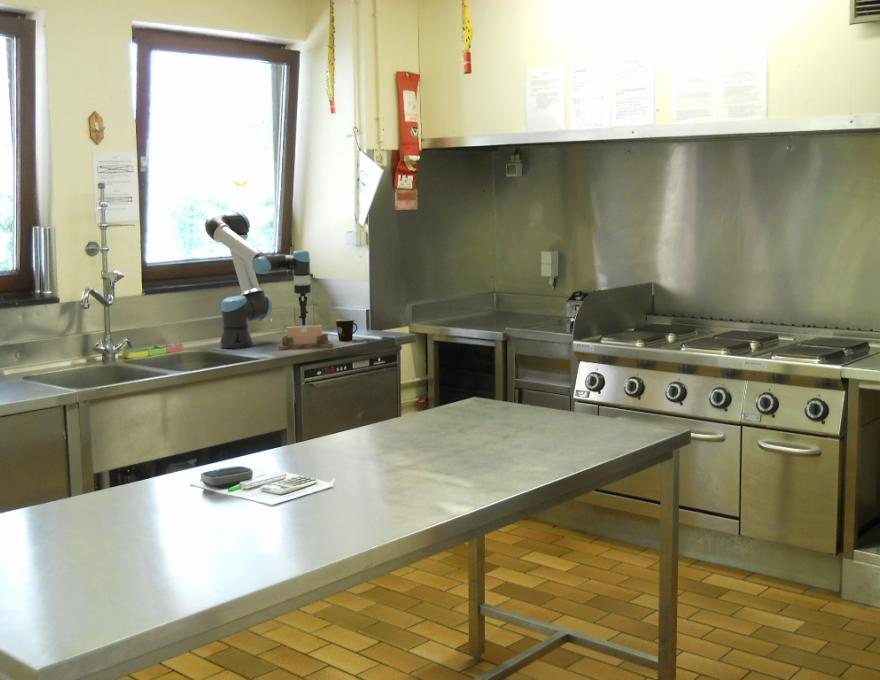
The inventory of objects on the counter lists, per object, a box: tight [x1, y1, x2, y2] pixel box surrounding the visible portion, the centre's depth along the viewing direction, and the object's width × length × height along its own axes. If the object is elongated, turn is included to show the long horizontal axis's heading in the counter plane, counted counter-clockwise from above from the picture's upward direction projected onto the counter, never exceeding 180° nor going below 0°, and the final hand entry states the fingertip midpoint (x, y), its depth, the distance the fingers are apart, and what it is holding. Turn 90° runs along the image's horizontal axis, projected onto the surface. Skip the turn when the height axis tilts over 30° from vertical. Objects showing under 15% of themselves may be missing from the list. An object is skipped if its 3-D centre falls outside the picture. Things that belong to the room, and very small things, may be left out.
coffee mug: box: [335, 318, 358, 342], centre depth 492 cm, size 12×9×10 cm
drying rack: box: [278, 333, 333, 351], centre depth 478 cm, size 24×12×5 cm, turn 97°
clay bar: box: [286, 324, 323, 345], centre depth 478 cm, size 16×3×8 cm, turn 97°
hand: (304, 329), depth 478 cm, fingers open, 13 cm apart
